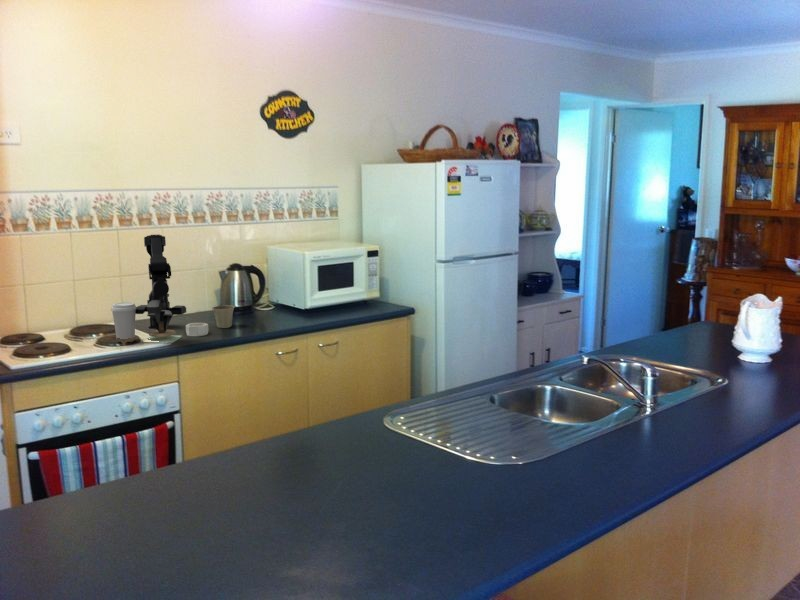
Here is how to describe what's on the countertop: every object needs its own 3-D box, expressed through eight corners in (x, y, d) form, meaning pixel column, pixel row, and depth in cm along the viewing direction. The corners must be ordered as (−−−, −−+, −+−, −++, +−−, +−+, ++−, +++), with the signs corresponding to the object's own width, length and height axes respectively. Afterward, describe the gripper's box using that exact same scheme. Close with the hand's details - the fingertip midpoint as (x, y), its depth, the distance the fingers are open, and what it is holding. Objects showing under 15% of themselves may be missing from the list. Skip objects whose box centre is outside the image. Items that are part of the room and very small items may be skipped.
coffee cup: (107, 342, 286) (105, 304, 284) (126, 337, 295) (124, 301, 292) (124, 345, 282) (122, 306, 280) (144, 340, 290) (141, 303, 288)
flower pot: (222, 330, 311) (221, 310, 309) (208, 327, 316) (207, 307, 315) (239, 326, 318) (239, 306, 317) (225, 323, 324) (224, 304, 322)
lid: (144, 336, 287) (143, 324, 286) (155, 331, 297) (154, 319, 296) (169, 337, 286) (168, 325, 285) (179, 331, 296) (178, 320, 295)
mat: (141, 342, 287) (141, 340, 287) (153, 336, 298) (153, 335, 297) (171, 343, 286) (171, 341, 286) (182, 337, 297) (182, 335, 296)
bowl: (183, 336, 298) (183, 326, 298) (191, 331, 307) (190, 322, 306) (203, 336, 298) (203, 327, 297) (210, 332, 306) (210, 322, 305)
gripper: (127, 295, 281) (130, 334, 284) (174, 296, 280) (176, 336, 282) (140, 290, 292) (142, 329, 295) (185, 291, 291) (187, 330, 293)
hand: (162, 331), depth 291 cm, fingers closed on lid, 2 cm apart
